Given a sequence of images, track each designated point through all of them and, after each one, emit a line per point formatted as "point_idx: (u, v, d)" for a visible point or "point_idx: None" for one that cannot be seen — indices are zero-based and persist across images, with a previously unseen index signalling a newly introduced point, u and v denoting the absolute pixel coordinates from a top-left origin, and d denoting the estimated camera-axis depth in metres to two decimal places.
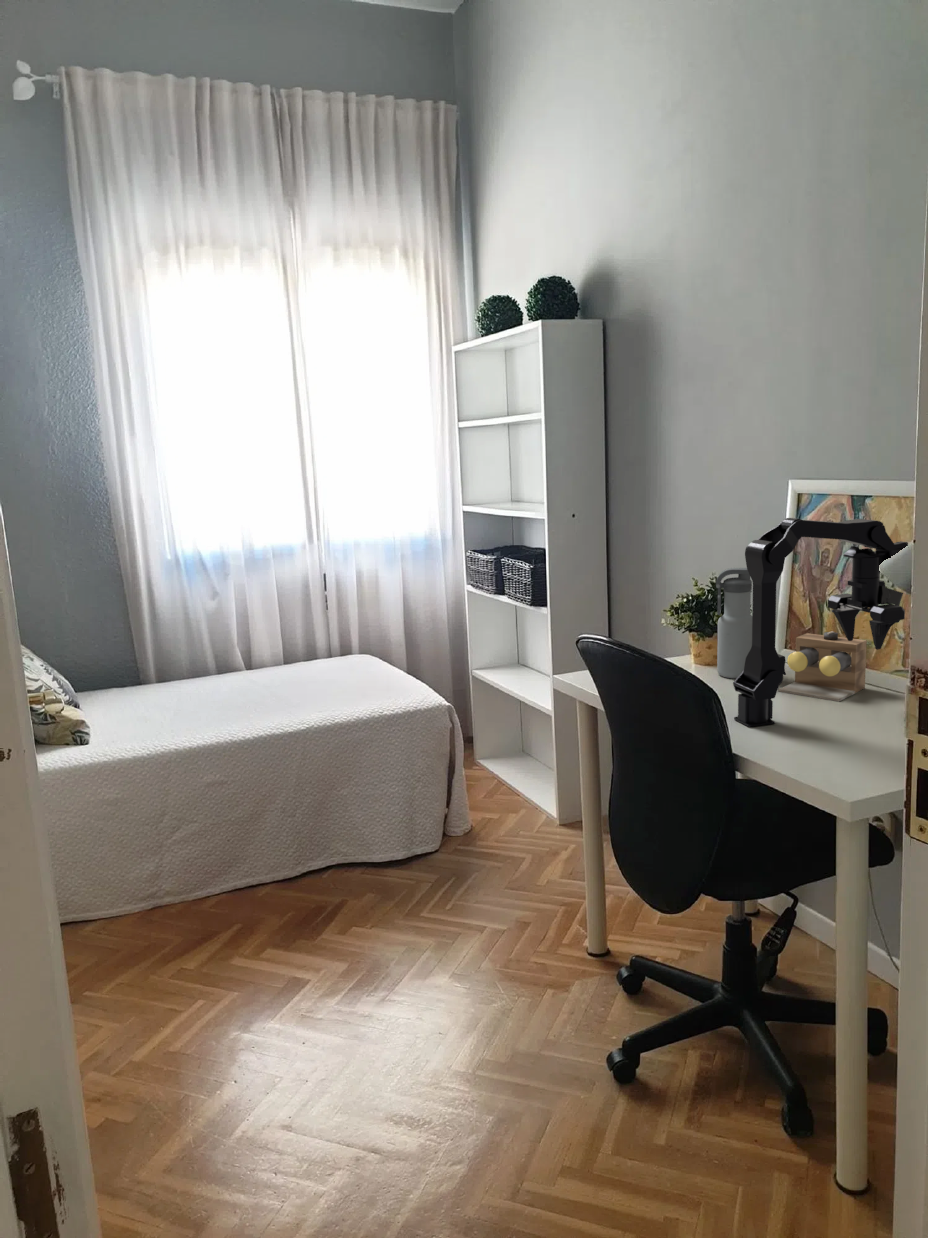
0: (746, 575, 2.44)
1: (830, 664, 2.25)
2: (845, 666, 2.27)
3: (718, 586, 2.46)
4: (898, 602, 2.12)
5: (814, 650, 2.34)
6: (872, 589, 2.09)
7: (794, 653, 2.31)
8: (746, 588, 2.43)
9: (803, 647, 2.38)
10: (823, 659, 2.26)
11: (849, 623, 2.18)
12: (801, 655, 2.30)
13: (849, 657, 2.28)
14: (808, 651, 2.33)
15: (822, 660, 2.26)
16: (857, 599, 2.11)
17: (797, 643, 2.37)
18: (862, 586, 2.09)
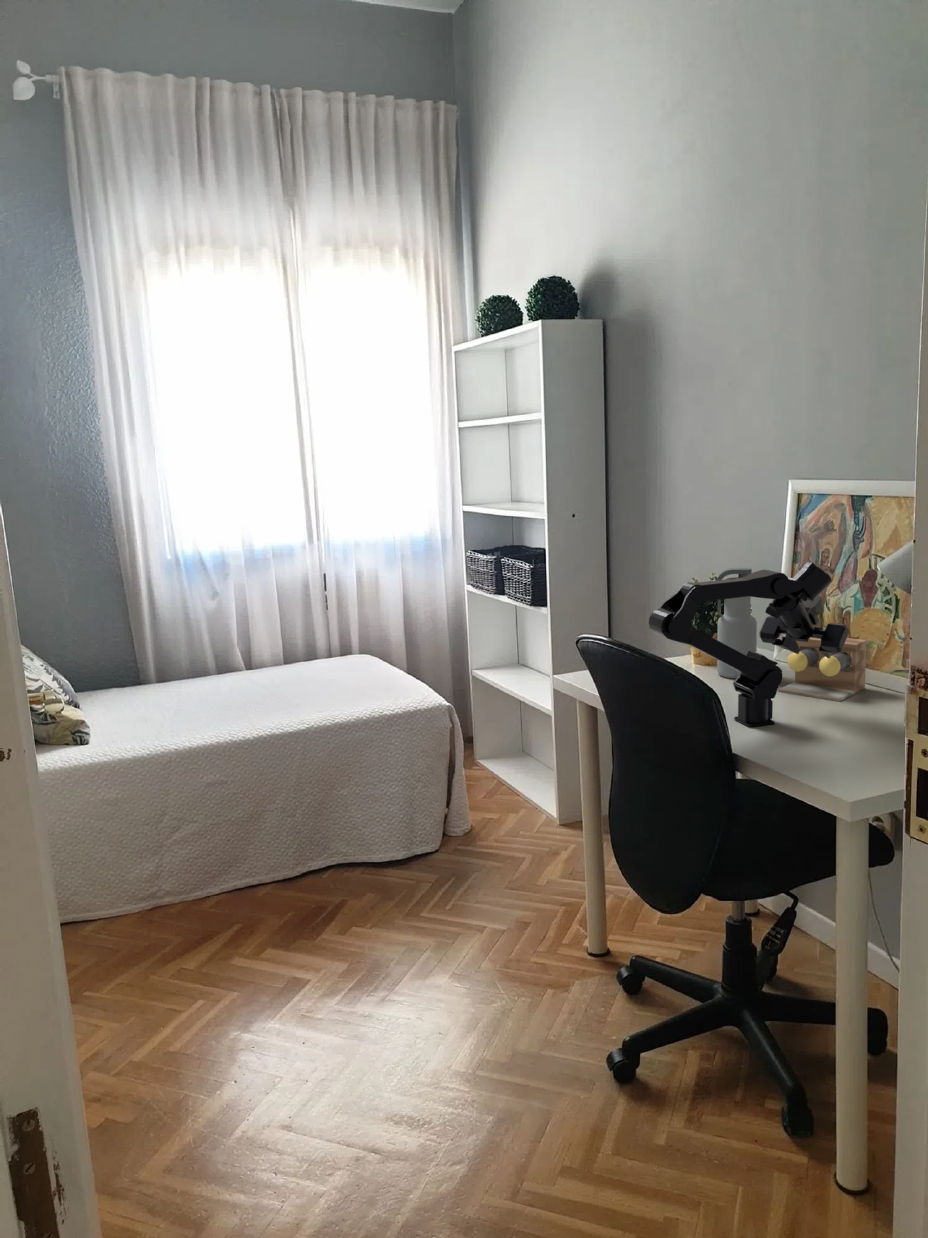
0: (746, 575, 2.44)
1: (830, 664, 2.25)
2: (845, 666, 2.27)
3: None
4: (822, 607, 2.14)
5: (814, 650, 2.34)
6: (808, 623, 2.08)
7: (794, 653, 2.31)
8: None
9: (803, 647, 2.38)
10: (823, 659, 2.26)
11: (792, 643, 2.19)
12: (801, 655, 2.30)
13: (849, 657, 2.28)
14: (808, 651, 2.33)
15: (822, 660, 2.26)
16: (798, 637, 2.10)
17: (797, 643, 2.37)
18: (800, 629, 2.07)
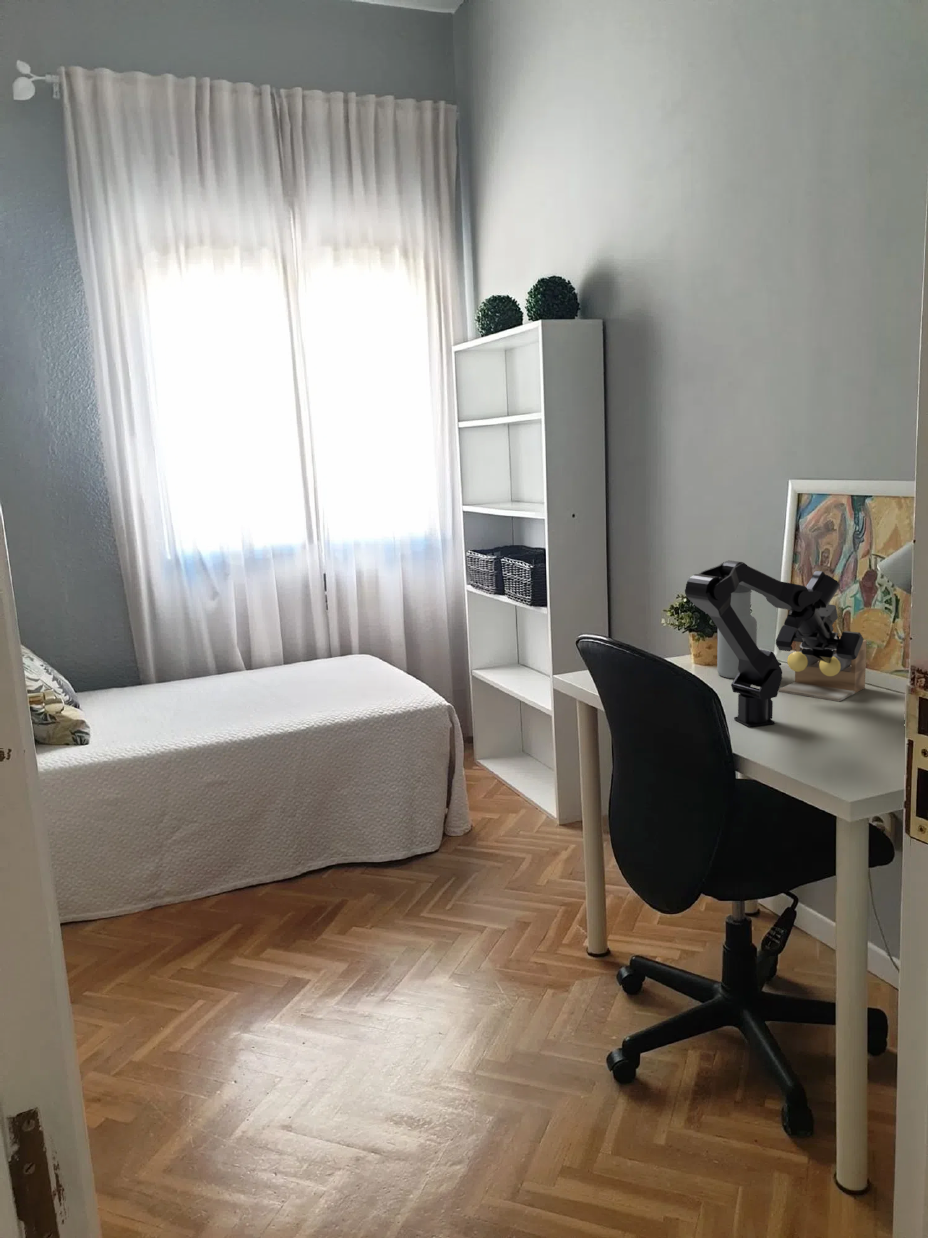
0: None
1: (830, 664, 2.25)
2: (845, 666, 2.27)
3: None
4: (837, 615, 2.20)
5: None
6: (823, 632, 2.14)
7: (794, 653, 2.31)
8: (746, 588, 2.43)
9: None
10: None
11: None
12: (801, 655, 2.30)
13: None
14: None
15: None
16: (814, 645, 2.16)
17: (797, 643, 2.37)
18: (816, 638, 2.13)
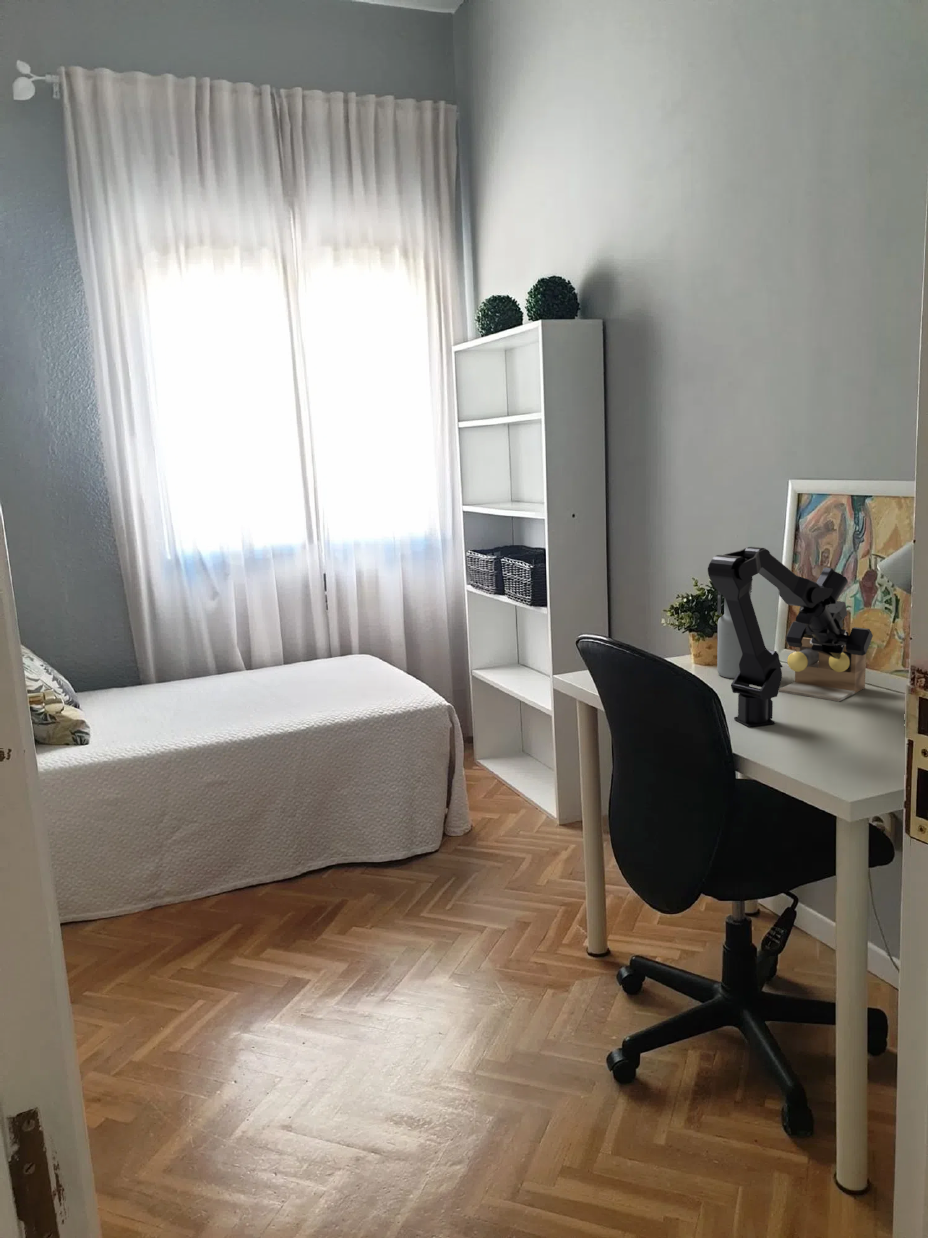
0: None
1: (839, 660, 2.28)
2: None
3: None
4: (846, 612, 2.23)
5: None
6: (833, 628, 2.18)
7: (794, 653, 2.31)
8: None
9: (803, 647, 2.38)
10: None
11: None
12: (801, 655, 2.30)
13: None
14: (808, 651, 2.33)
15: None
16: (824, 641, 2.20)
17: None
18: (826, 634, 2.17)
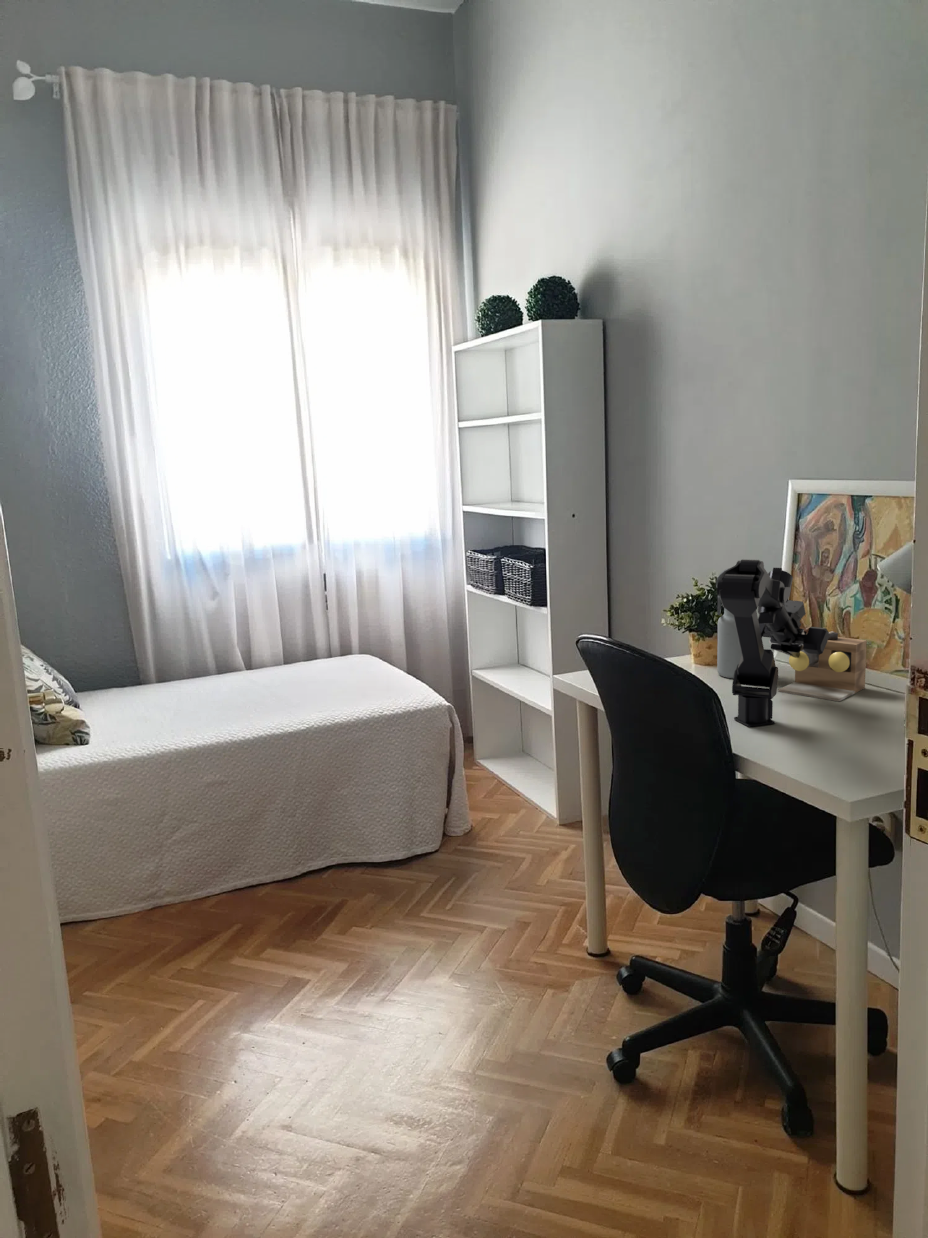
0: None
1: (839, 660, 2.28)
2: None
3: None
4: (804, 611, 2.26)
5: None
6: (790, 628, 2.21)
7: None
8: None
9: None
10: (832, 655, 2.29)
11: None
12: (803, 654, 2.30)
13: None
14: None
15: (831, 656, 2.29)
16: (782, 640, 2.23)
17: None
18: (784, 633, 2.20)
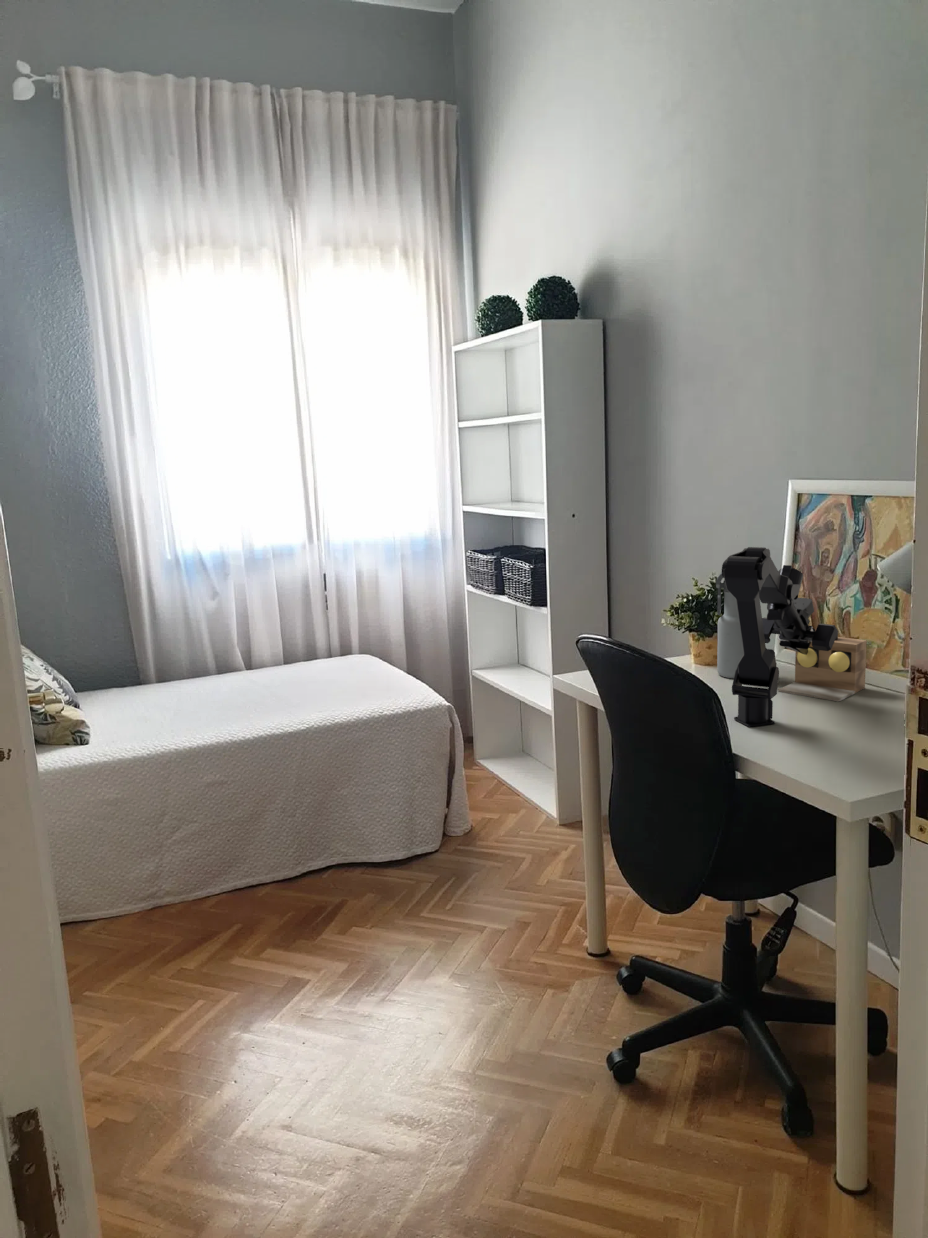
0: None
1: (839, 660, 2.28)
2: None
3: (718, 586, 2.46)
4: (813, 609, 2.29)
5: None
6: (799, 624, 2.24)
7: None
8: None
9: None
10: (832, 655, 2.29)
11: None
12: (811, 651, 2.33)
13: None
14: None
15: (831, 656, 2.29)
16: (791, 637, 2.26)
17: None
18: (793, 630, 2.23)
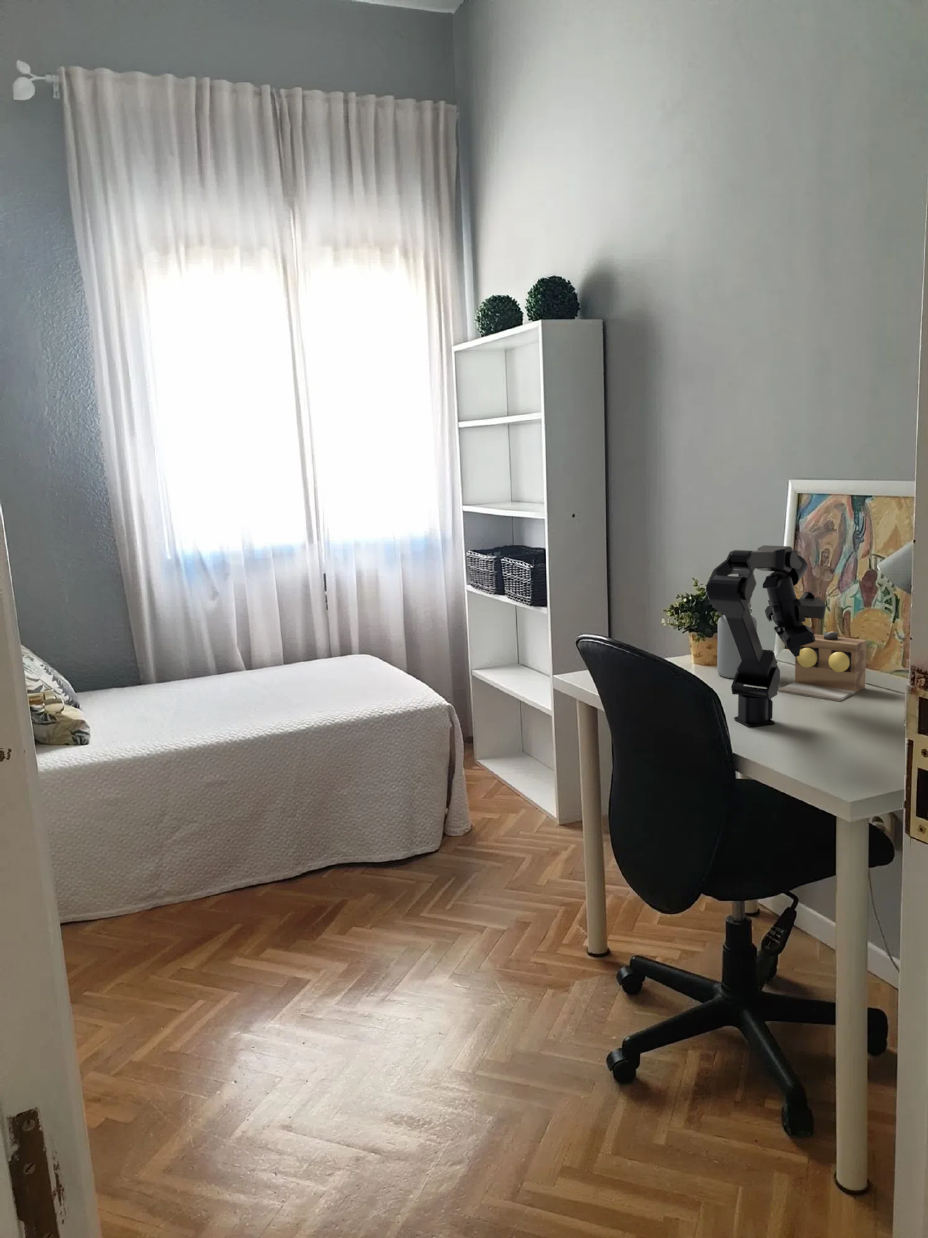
0: (746, 575, 2.44)
1: (839, 660, 2.28)
2: None
3: None
4: (821, 615, 2.15)
5: None
6: (786, 611, 2.14)
7: (804, 649, 2.34)
8: None
9: (803, 647, 2.38)
10: (832, 655, 2.29)
11: None
12: (811, 651, 2.33)
13: None
14: None
15: (831, 656, 2.29)
16: (775, 620, 2.17)
17: None
18: (774, 610, 2.15)
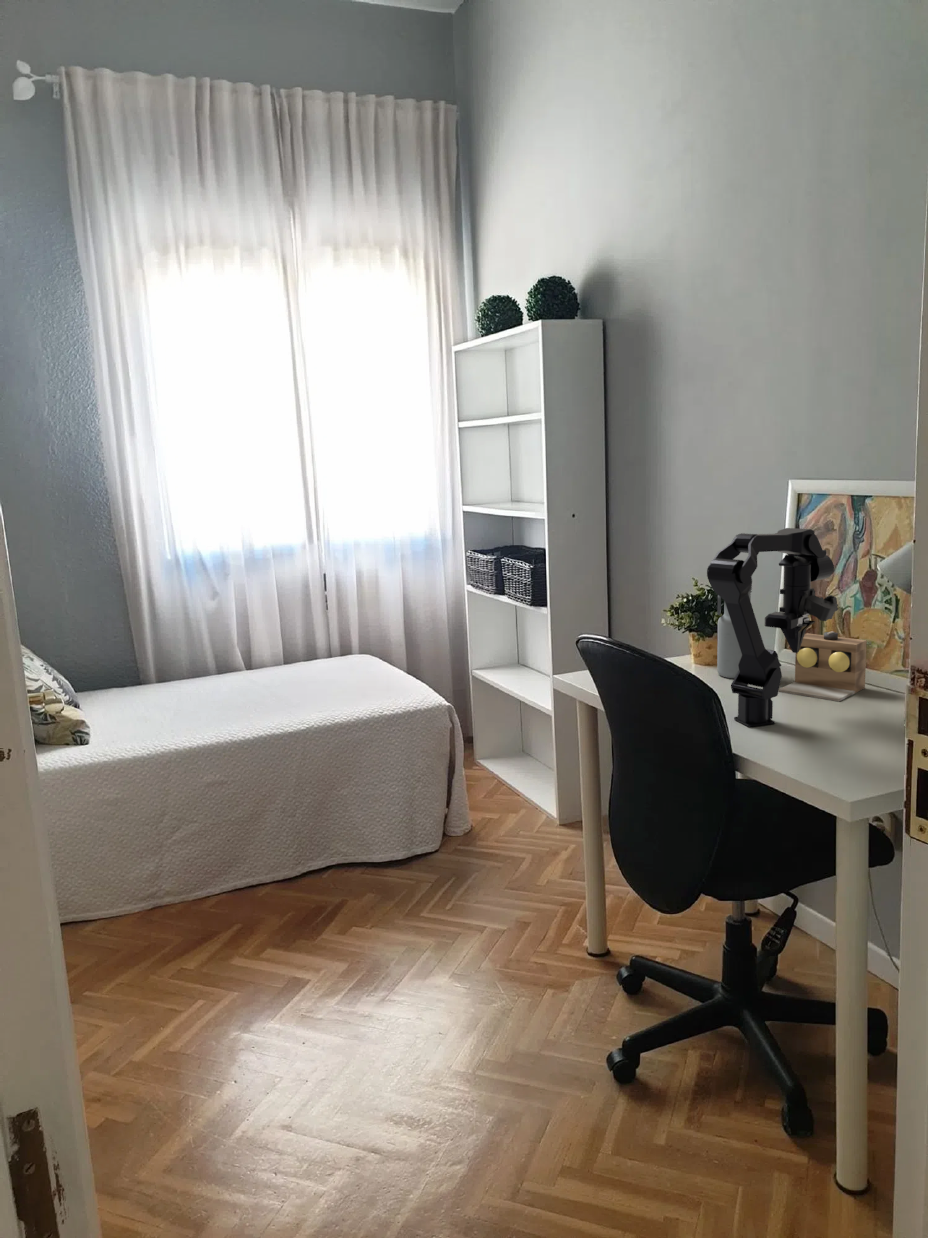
0: None
1: (839, 660, 2.28)
2: None
3: None
4: (821, 616, 2.09)
5: None
6: (789, 597, 2.13)
7: (804, 649, 2.34)
8: None
9: (803, 647, 2.38)
10: (832, 655, 2.29)
11: None
12: (811, 651, 2.33)
13: None
14: None
15: (831, 656, 2.29)
16: None
17: None
18: (780, 592, 2.14)
